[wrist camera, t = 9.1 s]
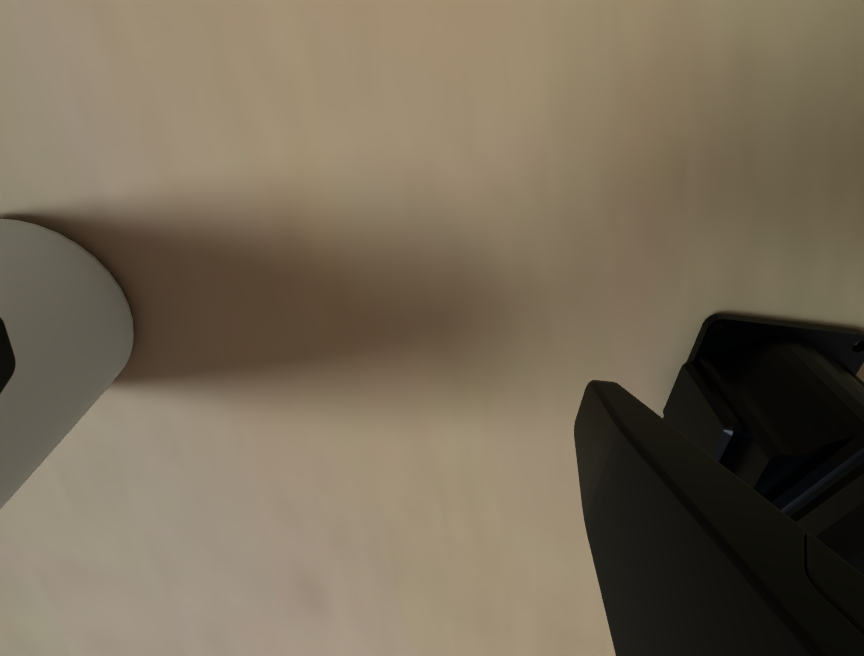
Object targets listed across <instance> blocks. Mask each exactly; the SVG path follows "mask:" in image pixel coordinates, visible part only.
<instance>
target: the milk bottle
mask: <svg viewBox="0 0 864 656" xmlns="http://www.w3.org/2000/svg"><path fill="white" fill-rule="evenodd" d="M0 317H1V319H2V320H3V321H4V324H5V327H6V330H7V333H8V336H9V339H10V343H11V346H12V349H13V352H14V355H15V359H16V366H15V371H14V373H13V376H12V377H11V379H10V380H9V382H8V383H7V385H6V386H5V388H4V389H3V391H2V392H1V394H0V509H1V508H2V507H3V506H4V505H5V504H6V502H7V501H8V500H9V499H10V498H11V497H12V496H13V495H14V494H15V492H16V491H17V490H18V489H19V488H20V487H21V486H22V485H23V484H24V482H25V481H26V480H27V479H28V478H29V477H30V476H31V474H32V473H33V472H34V471H35V470H36V469H37V468H38V467H39V465H40V464H41V463H42V462H43V461H44V460H45V459H46V457H47V456H48V455H49V454H50V453H51V452H52V451H53V450H54V448H55V447H56V446H57V445H58V444H59V443H60V442H61V440H62V439H63V438H64V437H65V436H66V435H67V434H68V433H69V431H70V430H71V429H72V428H73V427H74V426H75V425H76V423H77V422H78V421H79V420H80V419H81V418H82V417H83V416H84V414H85V413H86V412H87V411H88V410H89V409H90V408H91V406H92V405H93V404H94V403H95V402H96V401H97V400H98V398H99V397H100V396H101V395H102V394H103V393H104V392H105V390H106V389H107V388H108V387H109V386H110V385H111V383H112V382H113V381H114V380H115V378H116V377H117V376H118V375H119V373H120V372H121V371H122V370H123V368H124V367H125V365H126V364H127V362H128V359H129V357H130V354H131V351H132V346H133V338H134V331H133V318H132V315H131V311H130V307H129V303H128V301H127V300H126V298H125V296H124V293H123V291H122V289H121V287H120V286H119V285H118V283H117V282H116V281H115V279H114V278H113V276H112V275H111V273H110V272H109V271H108V270H107V269H106V268H105V267H104V266H103V265H102V264H101V263H100V262H99V261H98V260H97V259H96V258H95V257H94V256H93V255H92V254H90V253H89V252H88V251H86V250H85V249H84V248H82V247H81V246H80V245H79V244H77V243H76V242H74V241H72V240H70V239H68V238H67V237H65V236H63V235H61V234H60V233H58V232H55V231H53V230H50V229H47V228H45V227H42V226H40V225H38V224H33V223H28V222H24V221H19V220H12V219H0Z"/></svg>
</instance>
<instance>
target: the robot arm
mask: <svg viewBox="0 0 864 656" xmlns="http://www.w3.org/2000/svg"><path fill="white" fill-rule="evenodd" d="M718 325H722V327H721V328H720V329H718V330H716V331H713V329H714V328H715V327H716V326H718ZM859 341H860V342H859ZM857 342H859V343H858V344H857V345H855V346H853V345H854V344H855V343H857ZM863 362H864V332H863V331H860V330H853V329H845V328H836V327H828V326H819V325H811V324H802V323H794V322H785V321H777V320H769V319H760V318H752V317H743V316H735V315H726V314H714V315H711V316H709V317H708V318H707V319H706V320H705V321H704V323H703V325H702V327H701V329H700V332H699V334H698V336H697V339H696V341H695V344H694V346H693V348H692V351H691V353H690V355H689V358H688V360H687V362H685V363H684V364H683V365H682V367H681V370H680V372H679V374H678V377H677V379H676V381H675V384H674V386H673V389H672V391H671V393H670V396H669V398H668V401H667V403H666V405H665V408H664V410H663V414H664V417H663V419H662V418H661V417H660V416H659V415H657V414H656V413H655V412H654V411H652V410H651V409H650V408H648V407H647V406H646V405H645V404H643V403H642V402H641V401H639V400H638V399H637V398H636V397H634V396H633V395H632V394H630V393H629V392H628V391H627V390H625V389H624V388H623V387H621V386H620V385H619V384H617V383H615V382H608V381H599V380H592V381H590V382H589V383H588V385H587V386H586V389H585V392H584V395H583V398H582V401H581V404H580V407H579V411H578V414H577V417H576V420H575V425H574V438H575V447H576V456H577V465H578V473H579V482H580V491H581V500H582V508H583V515H584V522H585V526H586V531H587V536H588V540H589V544H590V549H591V553H592V557H593V561H594V565H595V570H596V574H597V578H598V582H599V586H600V590H601V595H602V599H603V603H604V607H605V611H606V616H607V620H608V624H609V628H610V632H611V637H612V641H613V645H614V649H615V653H616V656H864V382H863V381H862V380H861V379H860V378H859V377H857V376H856V374H857V372H858V370H859V369H860V367H861V365H862V364H863ZM15 366H16V359H15V355H14V352H13V349H12V346H11V343H10V339H9V336H8V333H7V330H6V327H5V324H4V321H3V320H2V319H1V317H0V394H1V392H2V391H3V389H4V388H5V386H6V385H7V383H8V382H9V380H10V379H11V377H12V376H13V373H14V371H15Z"/></svg>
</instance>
